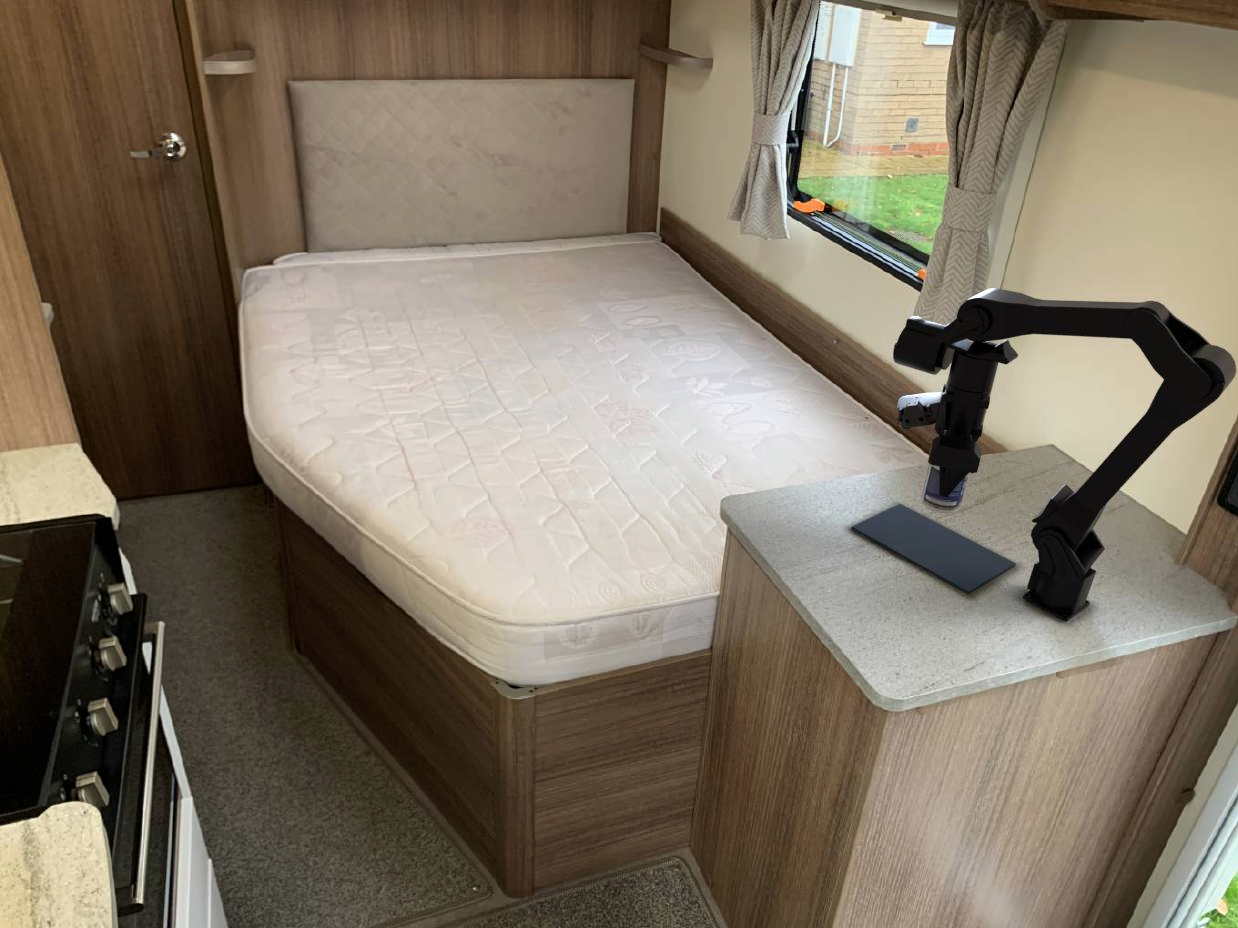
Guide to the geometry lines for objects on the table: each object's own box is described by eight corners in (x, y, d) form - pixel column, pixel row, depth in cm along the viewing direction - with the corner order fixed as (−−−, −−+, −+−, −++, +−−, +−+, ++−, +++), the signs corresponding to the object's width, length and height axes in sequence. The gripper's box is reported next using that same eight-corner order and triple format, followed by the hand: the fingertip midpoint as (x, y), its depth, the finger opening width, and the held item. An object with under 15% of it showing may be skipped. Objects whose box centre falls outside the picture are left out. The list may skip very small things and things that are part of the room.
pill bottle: (964, 515, 133) (980, 453, 128) (926, 513, 133) (941, 451, 128) (953, 496, 138) (968, 436, 133) (916, 494, 137) (930, 434, 133)
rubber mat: (1015, 566, 136) (1016, 563, 136) (968, 594, 129) (968, 591, 129) (899, 506, 149) (900, 503, 149) (851, 529, 142) (851, 526, 142)
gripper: (914, 351, 137) (893, 448, 144) (900, 398, 121) (878, 504, 128) (995, 365, 133) (970, 463, 141) (992, 415, 118) (964, 523, 125)
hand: (944, 486), depth 134 cm, fingers closed on pill bottle, 5 cm apart
